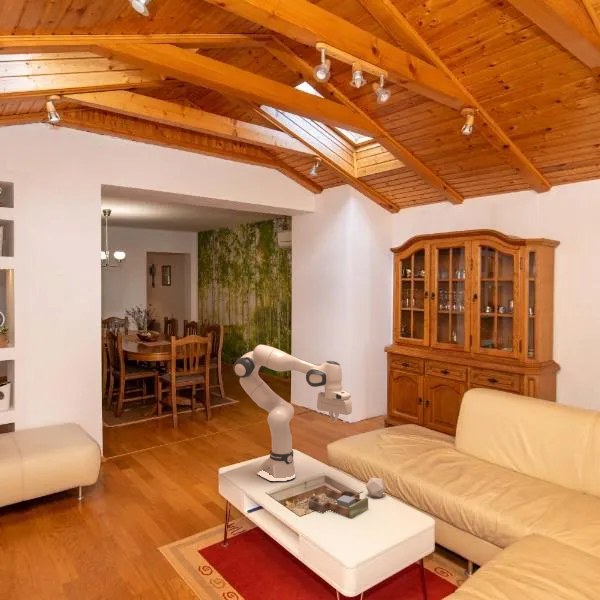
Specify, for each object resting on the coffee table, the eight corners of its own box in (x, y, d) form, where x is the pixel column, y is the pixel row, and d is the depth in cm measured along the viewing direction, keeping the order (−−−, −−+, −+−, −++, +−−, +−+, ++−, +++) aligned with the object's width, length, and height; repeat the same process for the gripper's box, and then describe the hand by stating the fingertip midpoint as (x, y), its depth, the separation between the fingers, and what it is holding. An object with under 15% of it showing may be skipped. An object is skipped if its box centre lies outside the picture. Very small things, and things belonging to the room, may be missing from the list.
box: (304, 506, 222) (304, 495, 222) (333, 492, 237) (332, 482, 237) (345, 522, 205) (345, 510, 205) (373, 506, 220) (373, 495, 220)
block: (337, 509, 218) (336, 499, 218) (344, 504, 223) (344, 495, 223) (348, 512, 214) (348, 502, 214) (355, 508, 219) (355, 498, 219)
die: (374, 502, 226) (386, 484, 226) (360, 489, 231) (372, 472, 231) (379, 502, 233) (391, 485, 234) (365, 489, 238) (376, 473, 238)
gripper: (313, 392, 246) (314, 419, 246) (345, 397, 232) (346, 425, 232) (322, 390, 251) (322, 416, 251) (353, 394, 237) (354, 422, 237)
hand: (334, 421), depth 241 cm, fingers closed
